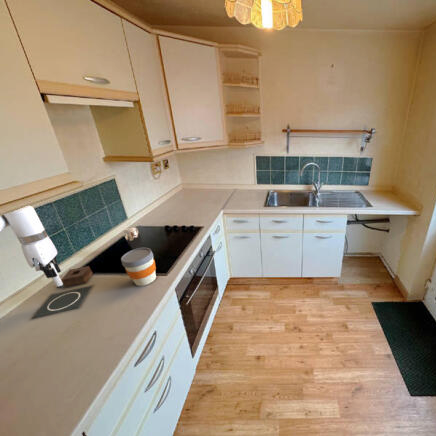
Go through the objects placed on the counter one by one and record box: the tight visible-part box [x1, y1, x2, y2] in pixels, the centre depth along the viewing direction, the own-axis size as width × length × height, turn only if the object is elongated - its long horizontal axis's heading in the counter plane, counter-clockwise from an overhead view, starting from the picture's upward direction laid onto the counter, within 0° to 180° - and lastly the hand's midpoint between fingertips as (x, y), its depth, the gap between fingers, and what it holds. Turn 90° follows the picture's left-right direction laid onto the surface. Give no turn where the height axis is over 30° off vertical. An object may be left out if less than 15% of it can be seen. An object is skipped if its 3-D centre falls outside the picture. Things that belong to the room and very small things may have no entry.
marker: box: [44, 263, 65, 290], centre depth 96 cm, size 2×2×12 cm
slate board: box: [32, 285, 92, 320], centre depth 100 cm, size 15×14×1 cm
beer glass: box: [123, 226, 144, 250], centre depth 132 cm, size 7×7×15 cm
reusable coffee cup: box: [120, 247, 157, 287], centre depth 109 cm, size 12×13×15 cm
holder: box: [61, 265, 93, 288], centre depth 112 cm, size 8×8×5 cm
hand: (54, 274), depth 96 cm, fingers closed on marker, 2 cm apart
